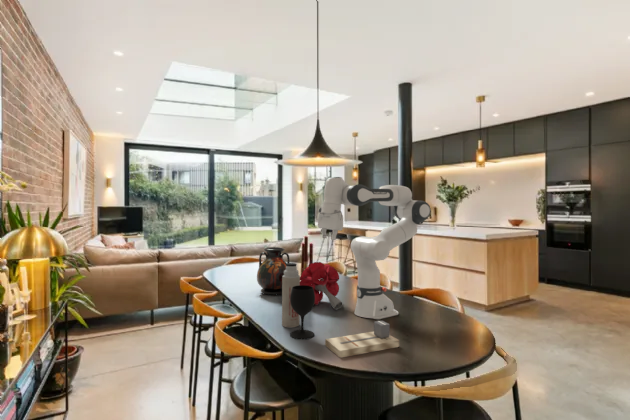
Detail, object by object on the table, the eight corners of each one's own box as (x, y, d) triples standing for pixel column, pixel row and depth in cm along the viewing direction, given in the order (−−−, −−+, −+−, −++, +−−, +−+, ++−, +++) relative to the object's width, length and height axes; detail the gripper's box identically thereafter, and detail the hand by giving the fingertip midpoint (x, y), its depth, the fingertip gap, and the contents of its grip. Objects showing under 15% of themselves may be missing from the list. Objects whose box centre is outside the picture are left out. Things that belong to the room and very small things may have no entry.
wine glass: (314, 330, 152) (314, 284, 152) (314, 339, 141) (315, 290, 141) (290, 330, 152) (290, 284, 151) (289, 339, 141) (289, 290, 141)
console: (381, 336, 146) (381, 330, 146) (399, 346, 135) (399, 340, 135) (325, 345, 135) (325, 338, 135) (340, 357, 124) (340, 350, 124)
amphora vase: (253, 296, 208) (253, 250, 208) (260, 288, 230) (260, 246, 229) (289, 297, 207) (289, 250, 207) (292, 289, 229) (293, 246, 229)
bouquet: (347, 316, 195) (316, 281, 214) (361, 283, 185) (327, 250, 204) (317, 326, 181) (287, 288, 201) (330, 292, 171) (298, 256, 191)
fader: (382, 332, 142) (382, 320, 142) (389, 336, 137) (389, 324, 137) (373, 334, 140) (373, 321, 140) (381, 338, 136) (381, 325, 136)
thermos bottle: (301, 326, 156) (301, 264, 156) (283, 328, 154) (284, 265, 154) (297, 321, 164) (297, 261, 164) (280, 322, 162) (281, 262, 162)
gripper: (348, 211, 159) (345, 241, 159) (327, 210, 178) (325, 237, 177) (335, 209, 156) (332, 240, 156) (316, 209, 175) (314, 236, 175)
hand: (328, 238), depth 167 cm, fingers open, 8 cm apart
